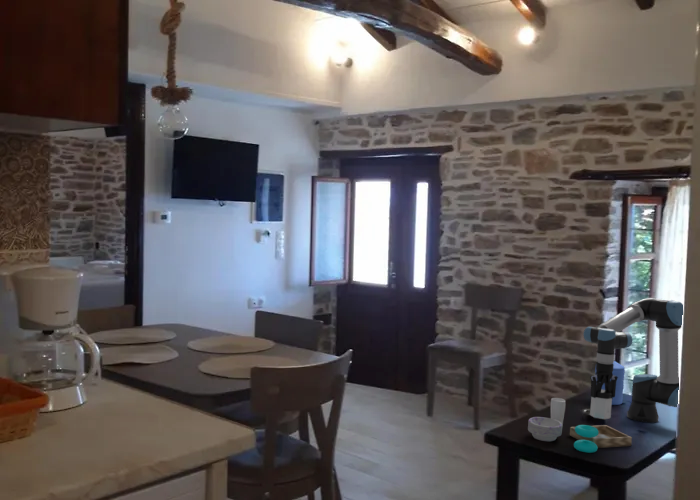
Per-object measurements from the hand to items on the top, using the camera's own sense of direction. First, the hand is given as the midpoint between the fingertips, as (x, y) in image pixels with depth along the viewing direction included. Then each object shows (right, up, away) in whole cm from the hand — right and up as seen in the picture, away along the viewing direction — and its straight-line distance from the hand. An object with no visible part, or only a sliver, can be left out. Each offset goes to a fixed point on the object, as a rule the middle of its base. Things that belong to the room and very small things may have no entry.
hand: (601, 412), depth 312 cm
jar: (-1, -2, 0) cm, 2 cm away
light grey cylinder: (-17, -12, +14) cm, 25 cm away
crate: (-1, -13, +1) cm, 13 cm away
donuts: (-12, -14, -13) cm, 22 cm away
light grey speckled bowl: (-27, -12, 0) cm, 29 cm away
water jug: (+30, -12, +72) cm, 79 cm away
